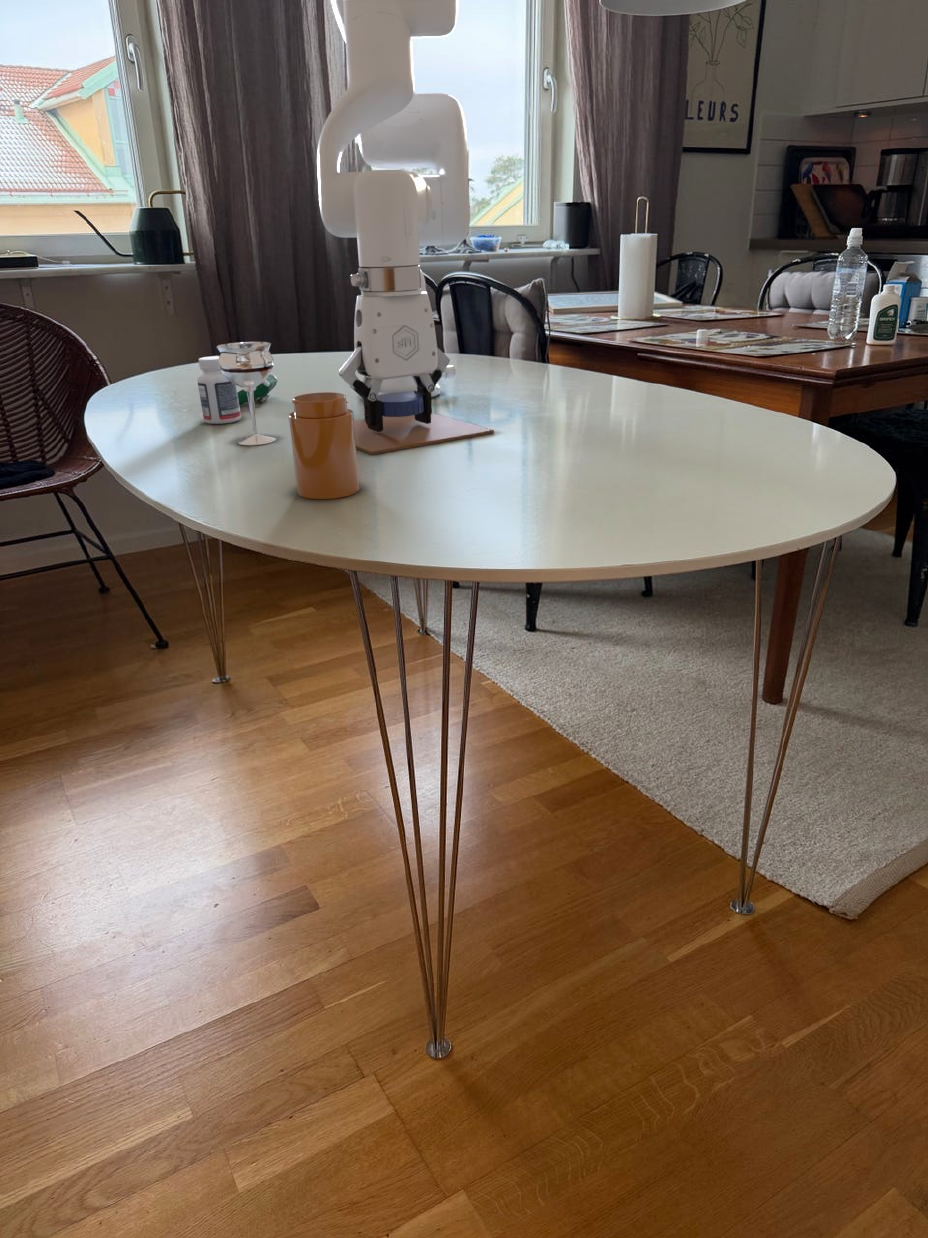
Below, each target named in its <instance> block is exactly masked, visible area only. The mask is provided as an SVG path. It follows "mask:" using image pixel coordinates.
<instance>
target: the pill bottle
mask: <svg viewBox="0 0 928 1238" xmlns="http://www.w3.org/2000/svg"><path fill="white" fill-rule="evenodd" d="M219 356H220V355H213V356H203V357H200V358H198V366H199V369H200V370H201V374H199V375H198V376H197V380H196V381H197V387H198V393H199V400H200V405H201V412H202V417H203V422H204V423H205V424H208V425H224V424H231V423H236V422H238V421H240V420H241V419H242V415H241V408H240V407H241V406H239V400H238V394H237V392H238V386H237V385H235V384H233V383H231V382H230V381H229V380H228V379H227V378H226V377H224V376H223V374H222V372H221V370H220V366H219V363H218V362H219Z"/></svg>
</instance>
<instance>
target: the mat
mask: <svg viewBox="0 0 928 1238" xmlns="http://www.w3.org/2000/svg"><path fill="white" fill-rule="evenodd" d="M354 428H355V440H356V450H359V451H361V452H363V453H367V454H369V455H379V454H384V453H389V452H390V453H391V452H396V451H402V450H406V449H412V448H417V447H424V446H430V445H434V444H440V443H447V442H451V441H457V440H463V439H467V438H474V437H480V436H485V435H490V434H491V435H492V434H494V433H495V429H492V428H489V427H484V426H481V425H477V424H474V423H469V422H467V421H463V420H459V419H455V418H453V417H448V416H445V415H441V414H437V413H434V412H432V414H431V423H428V424H426V423H422V422H419V421H417V420H415V415H412V416H404V417H385V416H383V430H382V431H381V432H376V431H374V430H371V429H369V428H368V425H367V424H366V422H365V418H363V419H358V420H357V419H356V420H354Z"/></svg>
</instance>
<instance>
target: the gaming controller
mask: <svg viewBox="0 0 928 1238" xmlns="http://www.w3.org/2000/svg"><path fill="white" fill-rule="evenodd" d="M277 383H278V378H277V377H276V375H275V374H273V372H272V373H271V374H270V375H269V377H268V378H267V379H266V381H264V382H263V383H261V384H260V385H258V386H256V390H255V391H253V395H254V402H261V403H264V402H265V400H268V398H269V397H270V396H271V394H270V392H271V391H272V390H273V389H274V388H275V387H276V386H277ZM237 394H238V400H239V407H241V406H244V405H247V404H248V405H249V401H248V396H247V391H244V390H243V389H241V390H239V391H237Z"/></svg>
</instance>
